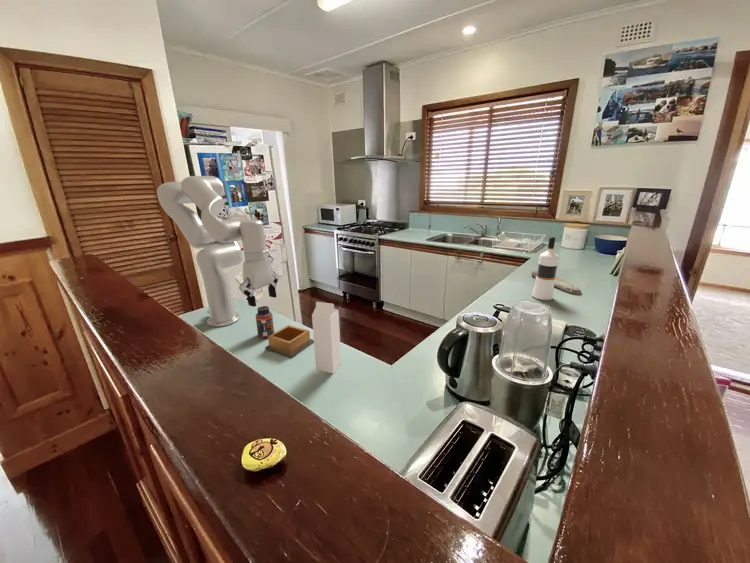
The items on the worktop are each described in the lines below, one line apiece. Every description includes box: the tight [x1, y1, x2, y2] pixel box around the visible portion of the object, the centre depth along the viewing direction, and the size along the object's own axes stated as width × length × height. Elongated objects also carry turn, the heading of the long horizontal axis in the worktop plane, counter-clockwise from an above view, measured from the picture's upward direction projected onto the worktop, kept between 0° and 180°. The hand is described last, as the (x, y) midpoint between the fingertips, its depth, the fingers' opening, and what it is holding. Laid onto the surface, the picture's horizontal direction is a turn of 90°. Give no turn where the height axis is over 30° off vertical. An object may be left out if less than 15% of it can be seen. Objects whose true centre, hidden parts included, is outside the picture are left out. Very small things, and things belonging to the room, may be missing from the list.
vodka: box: [531, 236, 560, 301], centre depth 149 cm, size 9×9×30 cm
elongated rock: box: [531, 270, 582, 295], centre depth 172 cm, size 35×5×10 cm
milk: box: [311, 301, 342, 374], centre depth 96 cm, size 6×6×22 cm
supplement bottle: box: [255, 305, 275, 339], centre depth 118 cm, size 6×6×11 cm
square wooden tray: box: [265, 324, 314, 359], centre depth 111 cm, size 12×12×5 cm
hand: (263, 301), depth 115 cm, fingers open, 9 cm apart
